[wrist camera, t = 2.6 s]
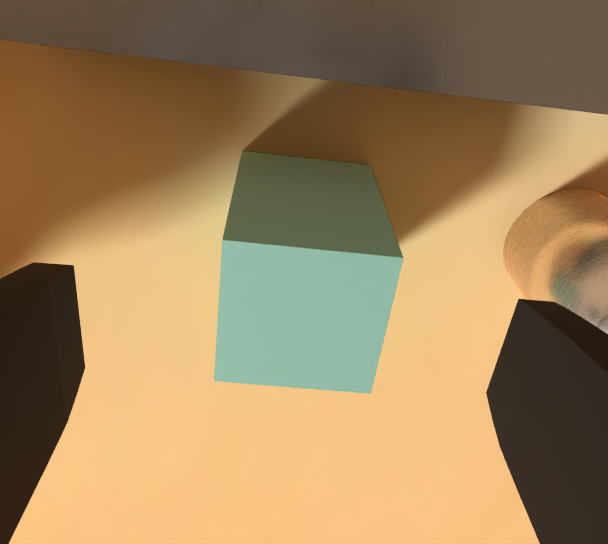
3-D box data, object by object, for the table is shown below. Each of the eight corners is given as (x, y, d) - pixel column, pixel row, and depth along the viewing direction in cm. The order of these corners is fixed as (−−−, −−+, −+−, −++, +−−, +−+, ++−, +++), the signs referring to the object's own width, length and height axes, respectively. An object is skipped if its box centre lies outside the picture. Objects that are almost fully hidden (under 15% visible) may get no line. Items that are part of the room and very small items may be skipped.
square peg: (233, 263, 20) (213, 381, 14) (241, 150, 18) (222, 240, 12) (349, 274, 20) (370, 393, 15) (370, 164, 18) (403, 258, 13)
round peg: (489, 288, 20) (557, 408, 15) (524, 182, 18) (617, 279, 13) (597, 298, 21) (700, 420, 15) (643, 195, 19) (779, 295, 13)
